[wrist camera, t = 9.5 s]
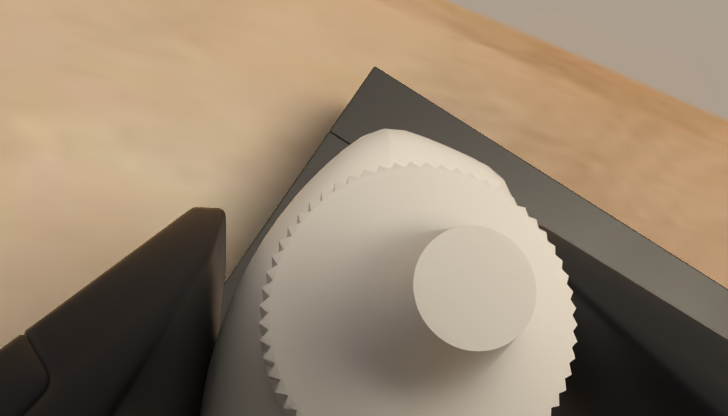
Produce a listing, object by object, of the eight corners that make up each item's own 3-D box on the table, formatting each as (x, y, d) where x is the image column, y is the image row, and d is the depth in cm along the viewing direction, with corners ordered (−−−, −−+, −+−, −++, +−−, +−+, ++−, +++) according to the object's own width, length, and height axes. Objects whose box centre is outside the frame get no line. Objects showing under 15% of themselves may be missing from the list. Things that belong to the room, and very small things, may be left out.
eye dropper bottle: (159, 368, 15) (-238, 286, 3) (363, 214, 16) (570, -212, 5) (283, 538, 14) (312, 1132, 3) (483, 364, 16) (1046, 286, 4)
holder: (515, 749, 20) (565, 824, 17) (107, 480, 20) (74, 500, 17) (708, 330, 24) (780, 321, 20) (360, 109, 24) (374, 65, 21)
